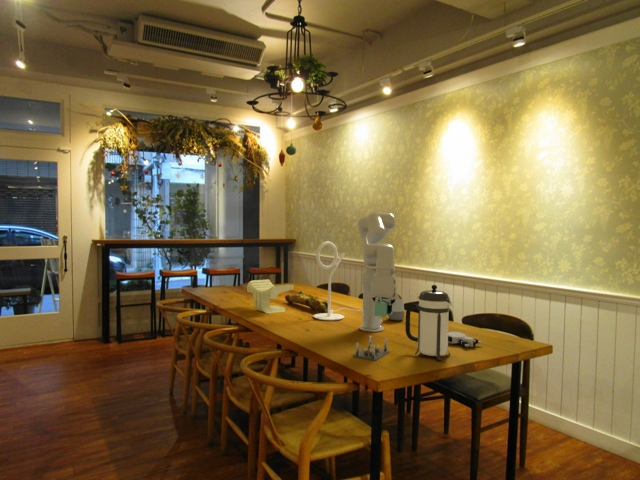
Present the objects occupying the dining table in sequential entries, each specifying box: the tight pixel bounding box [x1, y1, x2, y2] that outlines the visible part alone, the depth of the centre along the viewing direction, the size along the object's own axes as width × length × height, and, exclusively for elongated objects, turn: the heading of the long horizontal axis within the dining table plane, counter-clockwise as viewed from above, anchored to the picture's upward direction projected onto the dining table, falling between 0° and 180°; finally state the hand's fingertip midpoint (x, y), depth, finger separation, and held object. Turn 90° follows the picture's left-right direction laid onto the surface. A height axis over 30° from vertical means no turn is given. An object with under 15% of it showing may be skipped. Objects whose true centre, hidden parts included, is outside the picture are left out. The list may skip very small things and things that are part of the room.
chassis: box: [352, 335, 390, 362], centre depth 186 cm, size 15×10×6 cm, turn 149°
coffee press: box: [405, 284, 453, 362], centre depth 185 cm, size 17×16×30 cm
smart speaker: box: [387, 297, 405, 322], centre depth 256 cm, size 10×9×14 cm
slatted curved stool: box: [246, 279, 295, 314], centre depth 277 cm, size 30×16×18 cm, turn 37°
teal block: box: [375, 298, 393, 318], centre depth 198 cm, size 10×4×6 cm, turn 149°
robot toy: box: [448, 331, 483, 348], centre depth 204 cm, size 12×4×15 cm
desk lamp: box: [313, 240, 362, 322], centre depth 264 cm, size 37×18×45 cm, turn 130°
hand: (383, 312), depth 198 cm, fingers closed on teal block, 4 cm apart
